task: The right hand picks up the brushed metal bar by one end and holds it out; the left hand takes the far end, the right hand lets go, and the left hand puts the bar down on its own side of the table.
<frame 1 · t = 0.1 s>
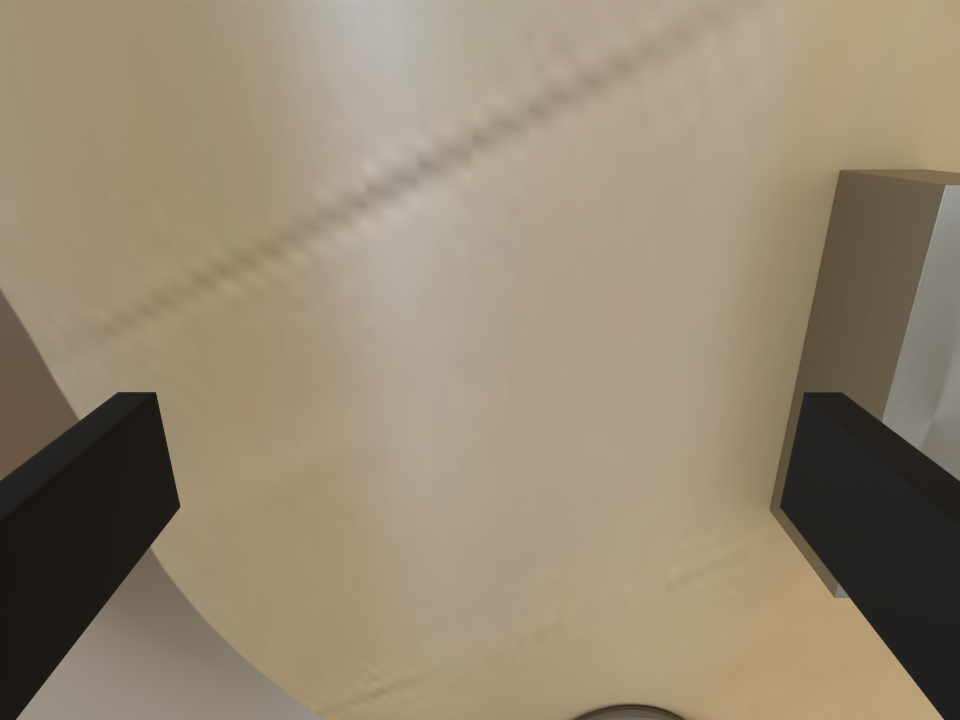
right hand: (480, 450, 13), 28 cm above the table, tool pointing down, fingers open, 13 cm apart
bar: (840, 358, 42), on the table
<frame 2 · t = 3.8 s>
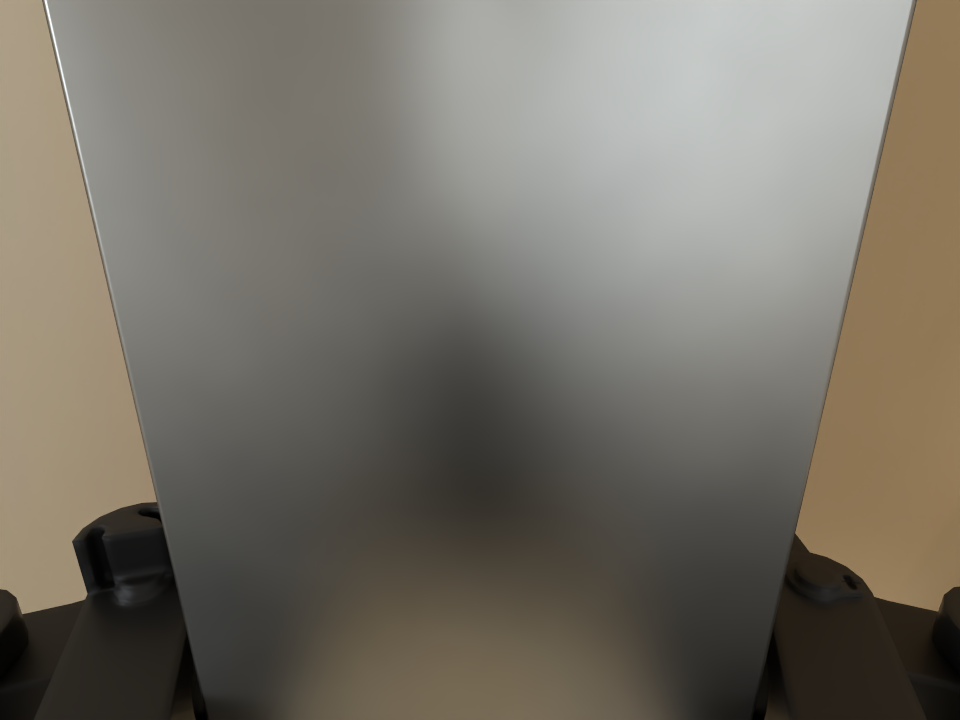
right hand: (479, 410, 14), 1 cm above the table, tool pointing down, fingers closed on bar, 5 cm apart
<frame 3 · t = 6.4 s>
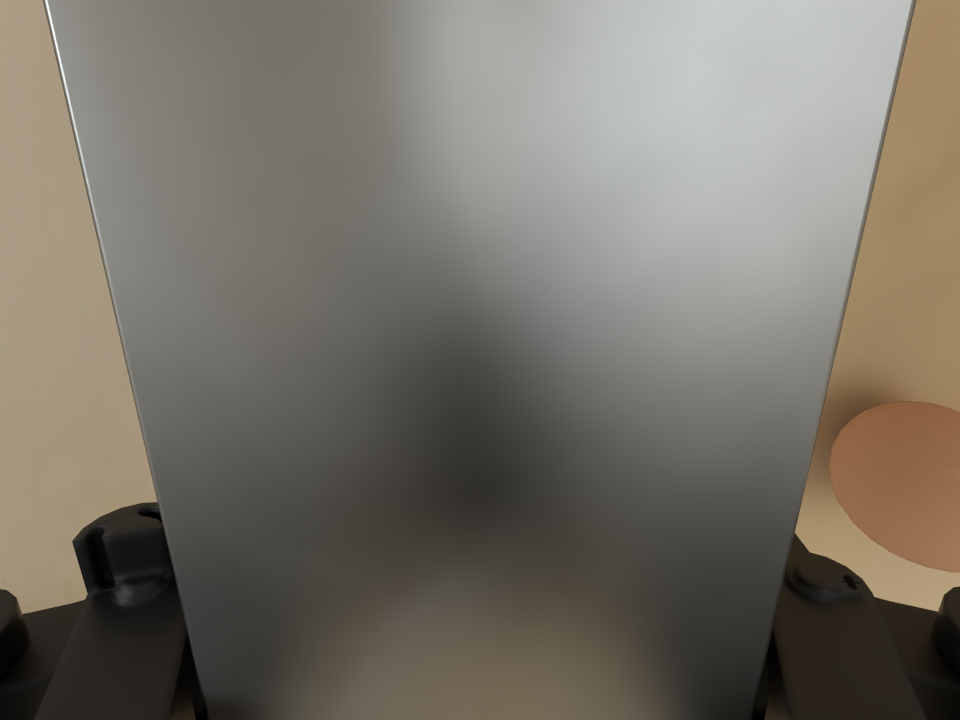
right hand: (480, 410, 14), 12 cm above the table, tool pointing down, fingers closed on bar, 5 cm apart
egg: (863, 433, 28), on the table
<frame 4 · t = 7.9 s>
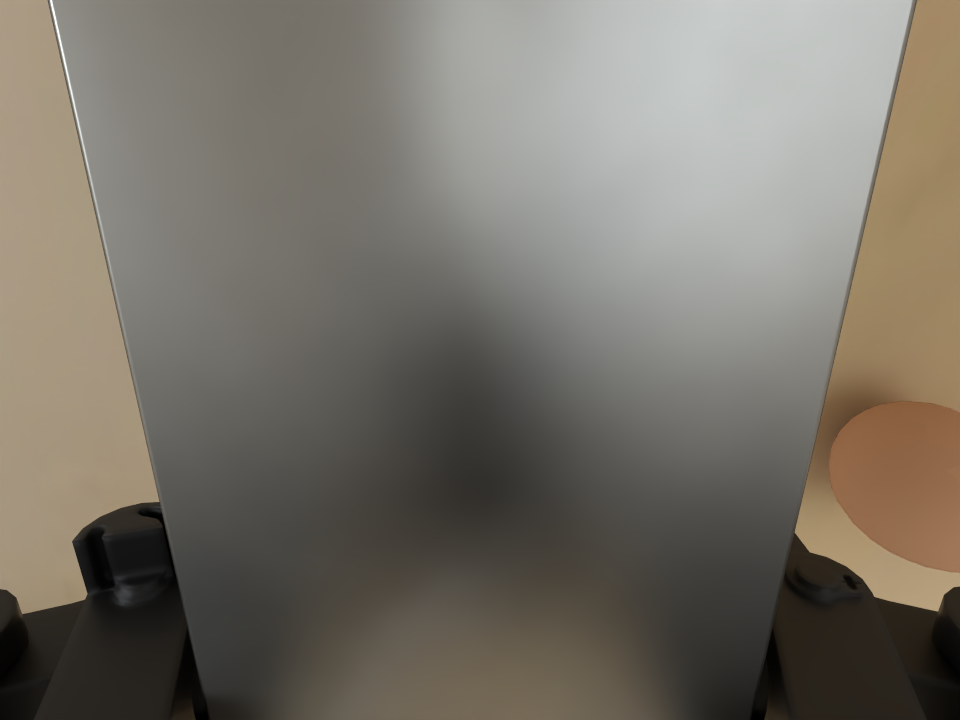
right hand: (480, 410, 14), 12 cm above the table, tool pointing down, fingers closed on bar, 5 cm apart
egg: (862, 433, 28), on the table
when the right hand's fingers open (12 cm above the table, at t = 8.9 s): bar stays where it is, held by the left hand.
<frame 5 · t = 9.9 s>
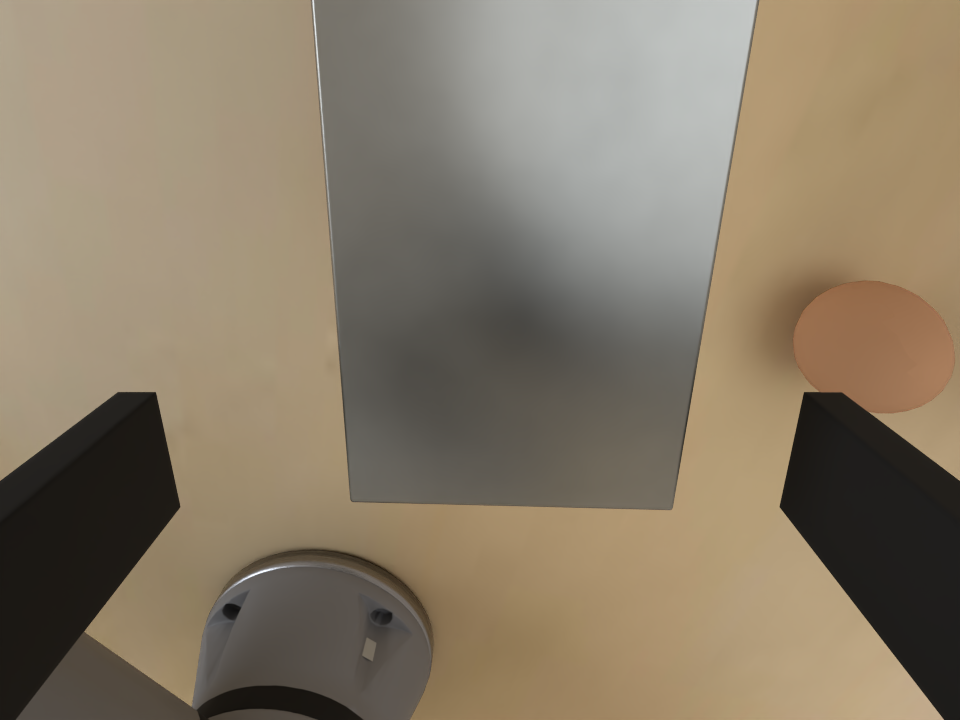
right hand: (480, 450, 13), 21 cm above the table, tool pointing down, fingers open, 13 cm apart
egg: (825, 319, 33), on the table
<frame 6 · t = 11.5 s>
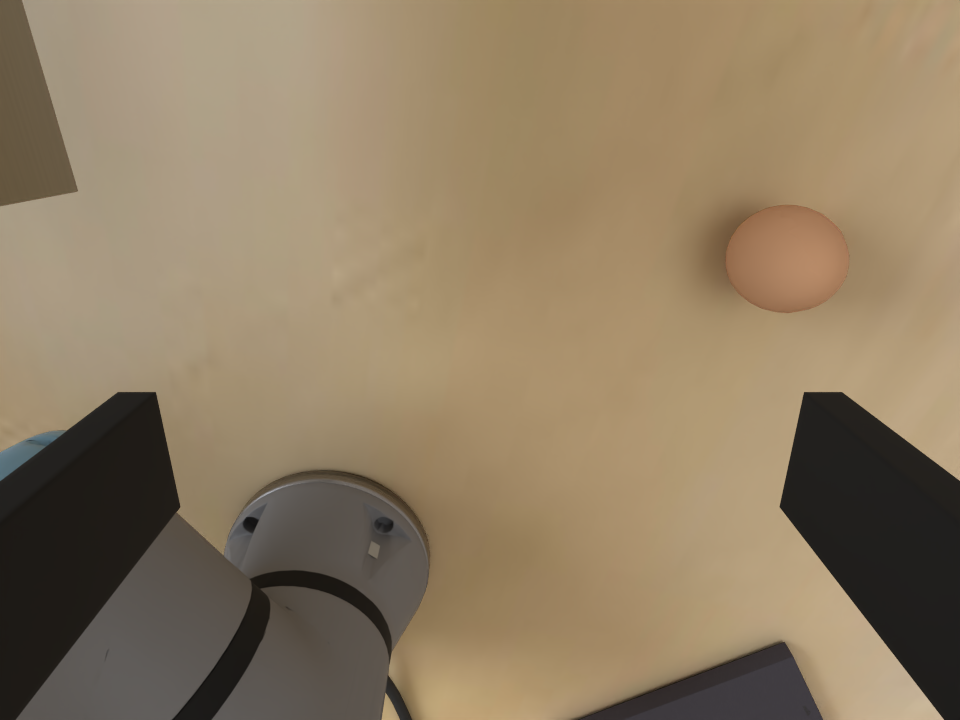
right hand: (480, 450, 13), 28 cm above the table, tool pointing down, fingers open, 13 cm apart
egg: (755, 246, 39), on the table
when the left hand's fingers open (6 cm above the table, at t = 14.9 s): bar stays where it is, on the table.
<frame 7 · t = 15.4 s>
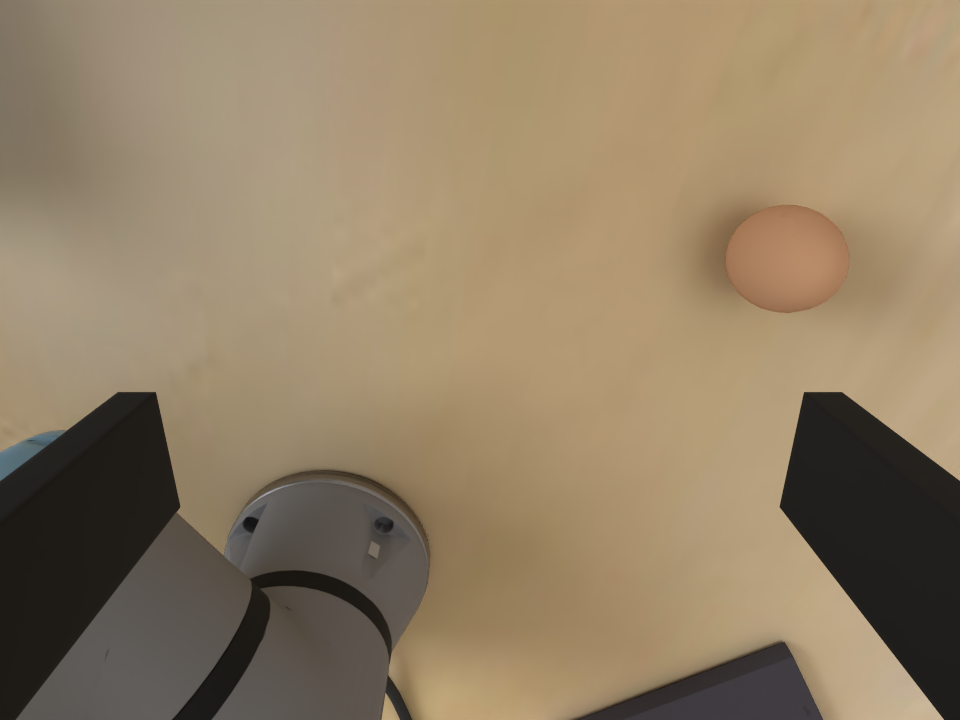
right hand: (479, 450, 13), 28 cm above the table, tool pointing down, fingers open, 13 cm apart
egg: (755, 246, 39), on the table
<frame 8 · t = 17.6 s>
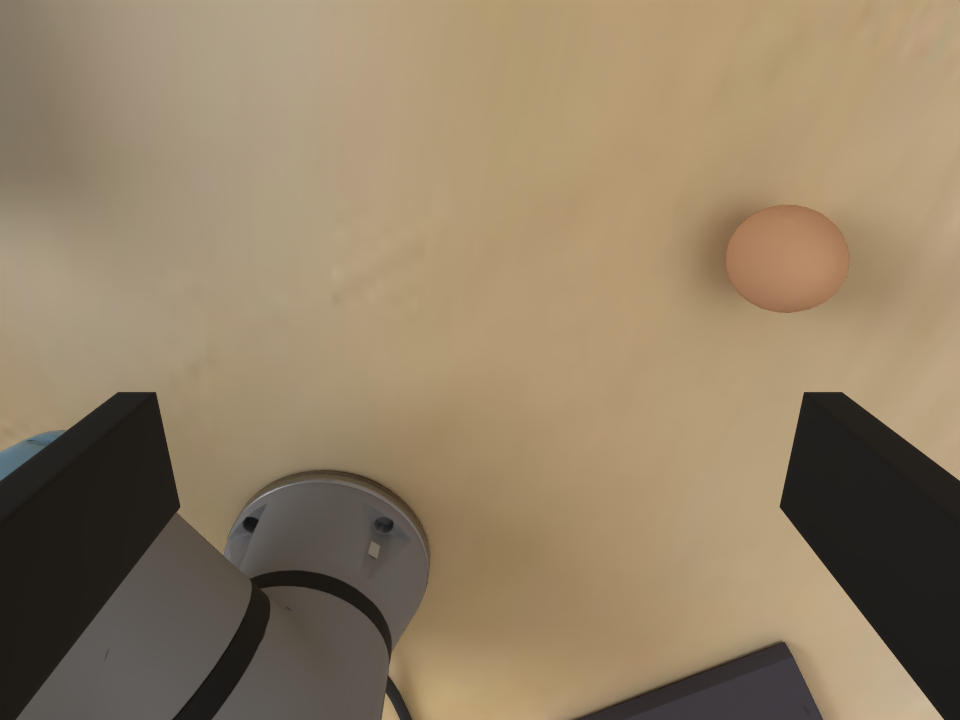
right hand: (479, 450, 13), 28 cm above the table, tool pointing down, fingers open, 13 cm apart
egg: (755, 246, 39), on the table
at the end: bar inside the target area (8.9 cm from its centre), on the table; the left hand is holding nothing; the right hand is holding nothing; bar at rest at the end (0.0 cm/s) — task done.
